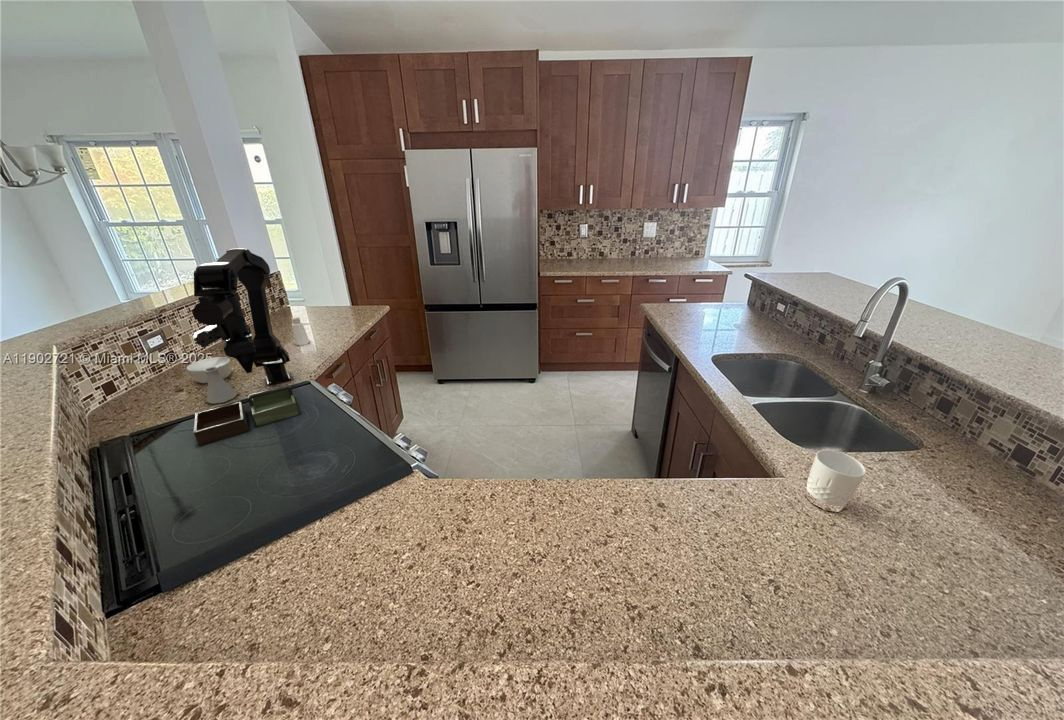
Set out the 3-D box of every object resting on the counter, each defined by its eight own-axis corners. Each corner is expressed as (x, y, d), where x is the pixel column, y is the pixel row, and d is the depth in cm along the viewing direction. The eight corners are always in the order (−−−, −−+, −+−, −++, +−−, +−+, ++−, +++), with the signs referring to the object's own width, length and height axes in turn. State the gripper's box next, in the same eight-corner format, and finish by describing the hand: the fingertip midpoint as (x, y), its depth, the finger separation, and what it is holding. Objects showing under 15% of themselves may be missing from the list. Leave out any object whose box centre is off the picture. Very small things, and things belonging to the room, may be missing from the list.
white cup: (841, 493, 78) (859, 456, 74) (852, 521, 72) (872, 481, 68) (797, 482, 81) (812, 445, 77) (804, 507, 75) (820, 468, 71)
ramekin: (240, 375, 127) (235, 361, 125) (200, 388, 118) (194, 373, 116) (226, 367, 132) (221, 354, 130) (187, 379, 124) (180, 365, 121)
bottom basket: (200, 425, 100) (194, 413, 98) (245, 413, 105) (241, 401, 104) (199, 446, 92) (193, 432, 90) (248, 431, 97) (243, 418, 96)
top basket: (253, 409, 107) (245, 387, 104) (293, 398, 113) (287, 377, 110) (256, 427, 99) (248, 404, 96) (299, 414, 105) (293, 392, 102)
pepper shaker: (312, 340, 156) (306, 315, 151) (304, 345, 151) (297, 320, 146) (300, 340, 156) (293, 315, 152) (291, 345, 151) (284, 319, 147)
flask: (243, 393, 116) (232, 364, 112) (223, 405, 109) (211, 375, 105) (222, 391, 116) (210, 363, 112) (201, 403, 110) (188, 373, 106)
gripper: (190, 310, 99) (211, 363, 105) (186, 329, 85) (211, 388, 92) (241, 303, 105) (258, 353, 112) (245, 320, 92) (264, 375, 98)
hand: (248, 366), depth 103 cm, fingers open, 9 cm apart
